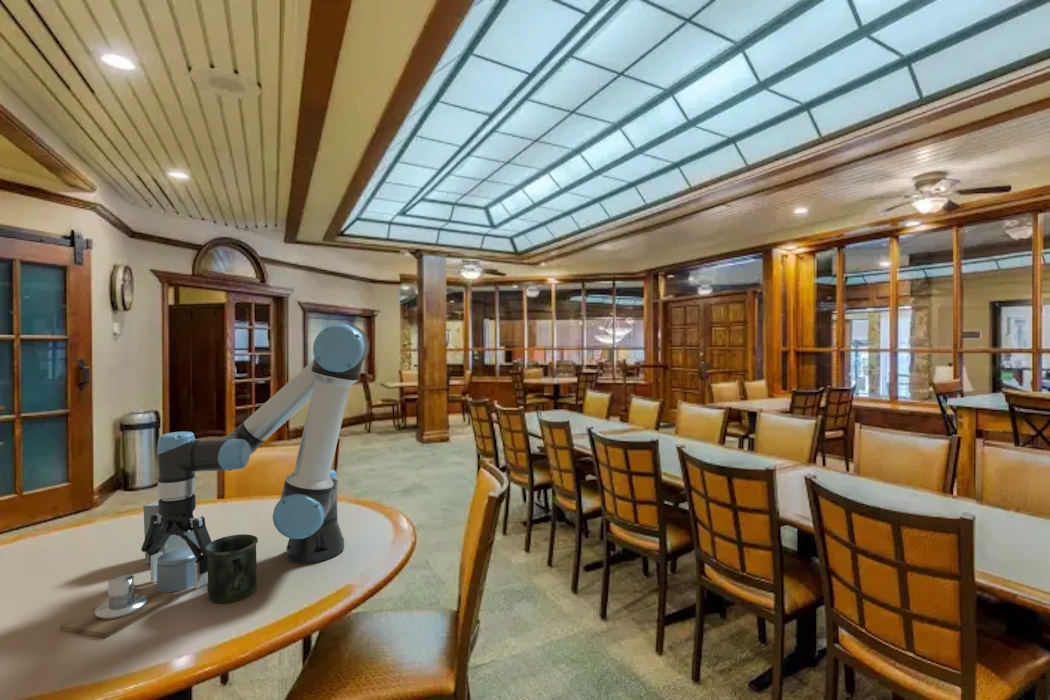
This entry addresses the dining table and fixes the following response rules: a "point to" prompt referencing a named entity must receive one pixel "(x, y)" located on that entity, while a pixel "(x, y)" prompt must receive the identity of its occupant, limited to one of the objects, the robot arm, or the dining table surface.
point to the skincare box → (173, 540)
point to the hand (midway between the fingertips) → (178, 583)
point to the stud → (121, 599)
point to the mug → (231, 568)
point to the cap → (176, 570)
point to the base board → (108, 627)
